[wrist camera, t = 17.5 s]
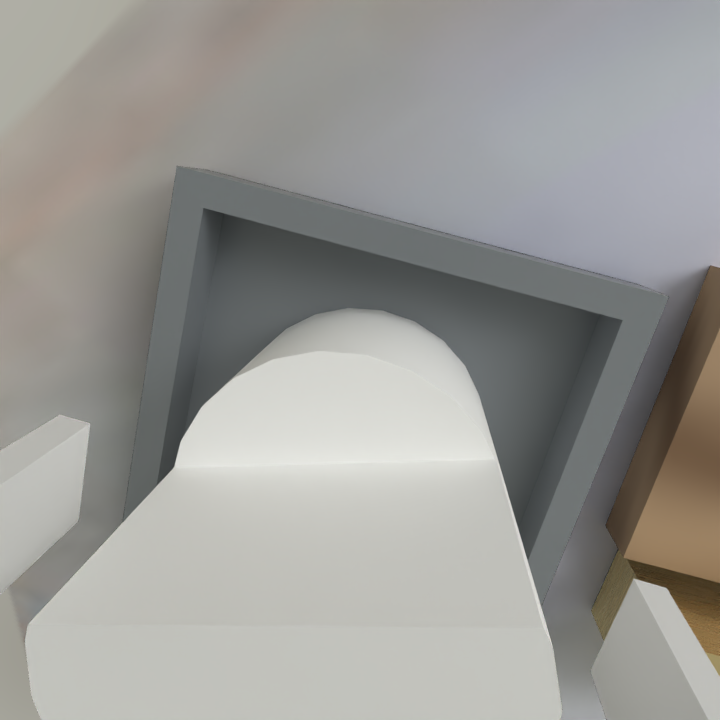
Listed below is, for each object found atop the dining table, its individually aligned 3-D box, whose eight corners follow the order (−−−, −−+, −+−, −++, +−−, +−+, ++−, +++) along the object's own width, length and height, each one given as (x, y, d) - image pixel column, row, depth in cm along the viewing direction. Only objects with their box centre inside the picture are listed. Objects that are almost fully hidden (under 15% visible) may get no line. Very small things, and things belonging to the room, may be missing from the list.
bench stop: (619, 546, 22) (674, 643, 17) (775, 590, 22) (875, 700, 17) (591, 610, 23) (635, 719, 18) (741, 653, 23) (826, 775, 18)
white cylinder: (481, 300, 19) (565, 443, 8) (486, 538, 22) (559, 916, 10) (222, 315, 21) (-33, 460, 9) (253, 540, 23) (82, 885, 11)
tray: (207, 169, 20) (177, 165, 17) (637, 283, 19) (669, 296, 17) (145, 538, 24) (113, 578, 22) (497, 639, 24) (506, 691, 21)
